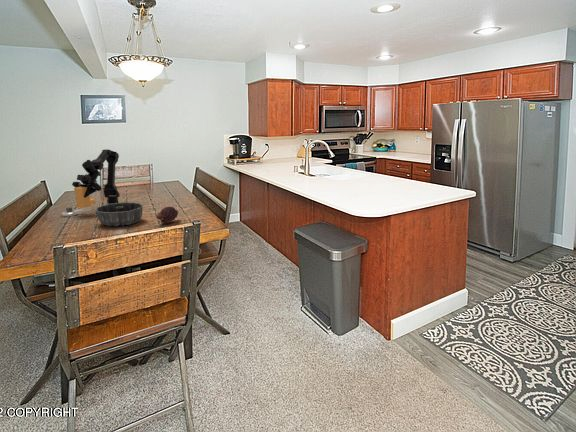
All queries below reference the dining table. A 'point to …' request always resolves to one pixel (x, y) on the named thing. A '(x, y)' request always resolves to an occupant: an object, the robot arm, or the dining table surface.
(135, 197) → the dining table surface
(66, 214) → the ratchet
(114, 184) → the robot arm
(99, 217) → the bundt pan
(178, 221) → the dining table surface
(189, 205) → the dining table surface
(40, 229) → the dining table surface
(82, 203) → the orange rectangular block
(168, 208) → the pine cone
